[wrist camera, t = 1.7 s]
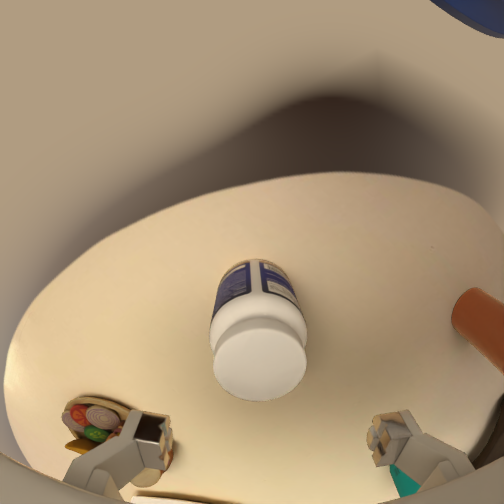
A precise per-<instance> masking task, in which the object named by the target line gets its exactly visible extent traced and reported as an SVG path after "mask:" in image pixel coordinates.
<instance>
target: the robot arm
mask: <svg viewBox="0 0 504 504" xmlns="http://www.w3.org/2000/svg"><path fill="white" fill-rule="evenodd" d="M170 422H171V421H170V416H168V415H163V414H157V413H151V412H146V411H140V410H135V409H132V410H131V411H130V412H129V415H128V417H127V419H126V421H125V424H124V426H123V428H122V431H121V433H120V435H119V436H115V437H113V438H111V439H109V440H108V441H106V442H104V443H103V444H101V445H99V446H97V447H96V448H94V449H92V450H90V451H88V452H87V453H85V454H83V455H81V456H79V457H77V458H76V459H74V460H73V461H72V463H71V465H70V467H69V469H68V471H67V473H66V475H65V477H64V479H63V481H60V480H57V479H55V478H53V477H50V476H48V475H45V474H43V473H41V472H39V471H37V470H34V469H32V468H30V467H28V466H26V465H24V464H22V463H20V462H18V461H16V460H14V459H12V458H10V457H8V456H7V455H5V454H3V453H1V452H0V504H133V503H129V502H125V501H124V500H123V498H122V496H121V495H120V493H119V490H120V489H121V488H123V487H124V486H125V485H126V484H127V483H129V482H130V481H131V480H132V479H133V478H135V477H136V476H137V475H138V474H139V473H140V472H142V471H143V470H144V469H145V468H151V469H157V470H164V471H166V468H167V464H168V460H169V457H168V452H169V451H170V450H171V447H172V440H173V434H172V429H171V428H170V427H169V426H170ZM372 423H373V426H371V427H370V428H369V430H368V432H367V445H368V448H369V449H370V450H372V451H373V455H372V458H373V460H374V463H375V465H376V467H380V466H385V465H391V464H394V465H395V466H396V467H397V468H399V469H400V470H401V471H402V472H404V473H405V474H406V475H408V476H409V477H410V478H411V479H413V480H414V481H415V482H417V483H418V484H419V485H421V487H420V488H419V490H418V491H417V492H416V493H415V494H412V495H408V496H405V497H402V498H398V499H394V500H391V501H387V502H383V503H378V504H504V456H503V457H501V458H499V459H497V460H495V461H493V462H491V463H489V464H487V465H485V466H483V467H481V468H479V469H477V470H475V468H474V467H473V465H472V464H471V462H470V460H469V459H468V457H467V456H466V454H465V453H464V452H462V451H460V450H458V449H456V448H454V447H452V446H450V445H448V444H446V443H444V442H442V441H440V440H438V439H436V438H434V437H433V436H431V435H429V434H427V433H424V434H423V432H422V431H421V429H420V428H419V426H418V424H417V423H416V421H415V419H414V418H413V416H412V415H411V413H410V411H408V410H403V411H397V412H391V413H385V414H379V415H375V416H374V418H373V420H372Z"/></svg>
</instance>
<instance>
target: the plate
mask: <svg viewBox="0 0 504 504" xmlns="http://www.w3.org/2000/svg"><path fill="white" fill-rule="evenodd" d="M130 503H133V504H207V503H201V502H194V501H187V500H179V499H171V498H159V497H146V496H135V495H133V496H132V499H131V502H130Z"/></svg>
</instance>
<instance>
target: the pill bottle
mask: <svg viewBox="0 0 504 504" xmlns="http://www.w3.org/2000/svg"><path fill="white" fill-rule="evenodd" d="M209 342H210V347H211V350H212V352H213V355H214V360H213V370H214V375H215V377H216V380H217V381H218V383H219V384H220V386H221V387H222V388H223V389H224V390H225V391H227V392H228V393H229V394H231V395H233V396H235V397H237V398H240V399H243V400H247V401H269V400H273V399H276V398H279V397H282V396H284V395H286V394H287V393H289V392H290V391H292V390H293V389H294V388H295V387H296V386H297V385H298V384H299V383H300V381H301V380H302V378H303V376H304V374H305V371H306V367H307V358H306V354H305V350H304V349H305V347H306V343H307V327H306V323H305V320H304V317H303V314H302V312H301V309H300V306H299V304H298V301H297V298H296V296H295V293H294V291H293V288H292V285H291V283H290V281H289V279H288V277H287V275H286V274H285V273H284V272H283V271H282V270H281V269H280V268H279V267H278V266H276V265H275V264H273V263H271V262H268V261H264V260H258V259H253V260H246V261H243V262H240V263H238V264H236V265H234V266H233V267H231V268H230V269H229V270H228V271H227V272H226V273H225V274H224V276H223V277H222V279H221V281H220V284H219V287H218V291H217V296H216V301H215V306H214V311H213V316H212V320H211V325H210V331H209Z"/></svg>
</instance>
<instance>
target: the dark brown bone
mask: <svg viewBox="0 0 504 504" xmlns="http://www.w3.org/2000/svg"><path fill="white" fill-rule="evenodd" d="M503 456H504V399H503V402H502V406H501V410H500V413H499V417H498V420H497V423H496V426H495V428H494V431H493V433H492V435H491V437H490V439H489V441H488V443H487V444H486V446H485V447H484V449H483V451H482V452H481V453H480V455H479V456H478V457H477V458H476V460H475V461H474V462H473V463H472V465H473V467H474V468H475V470H477V469H479V468H481V467H483V466H485V465H487V464H489V463H491V462H493V461H495V460H497V459H499V458H501V457H503Z"/></svg>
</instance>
